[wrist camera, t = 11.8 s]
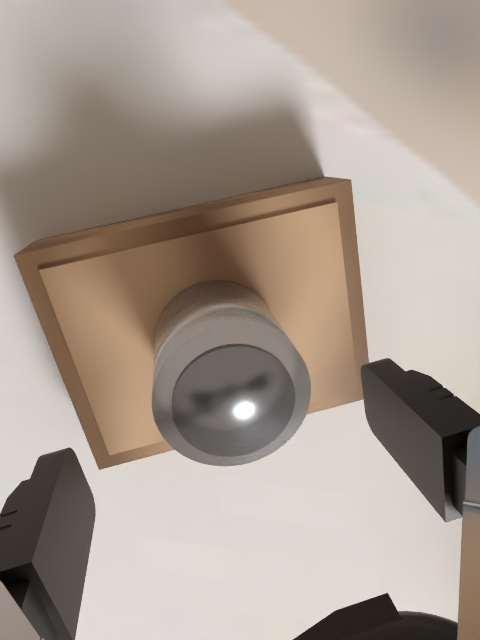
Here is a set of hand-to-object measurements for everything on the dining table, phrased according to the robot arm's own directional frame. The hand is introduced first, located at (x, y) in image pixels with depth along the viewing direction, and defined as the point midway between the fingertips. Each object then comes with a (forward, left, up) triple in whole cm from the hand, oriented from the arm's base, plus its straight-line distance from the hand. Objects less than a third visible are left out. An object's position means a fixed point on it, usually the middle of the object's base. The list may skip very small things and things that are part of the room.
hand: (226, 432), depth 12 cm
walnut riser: (0, 0, -10) cm, 10 cm away
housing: (0, 0, -7) cm, 7 cm away
